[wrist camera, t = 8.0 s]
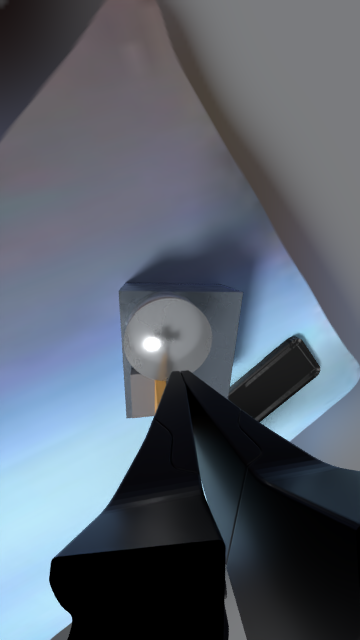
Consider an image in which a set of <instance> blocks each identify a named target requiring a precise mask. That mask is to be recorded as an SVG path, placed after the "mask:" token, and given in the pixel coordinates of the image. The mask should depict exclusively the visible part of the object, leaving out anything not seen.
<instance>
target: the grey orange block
mask: <svg viewBox="0 0 360 640" xmlns="http://www.w3.org/2000/svg"><path fill="white" fill-rule="evenodd" d="M130 381H131V401H132V418H138V417H148V416H155V413H156V410H157V408H158V405H159V402H160V400H161V397H162V394H163V392H164V389H165V386H166V381H159V380H154V379H150V378H148V377H145V376H143V375H142V374H140V373H139V372H138V371H136V370H135V369H131V372H130Z"/></svg>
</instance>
